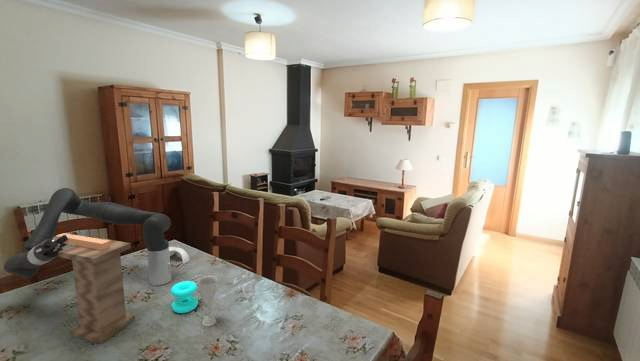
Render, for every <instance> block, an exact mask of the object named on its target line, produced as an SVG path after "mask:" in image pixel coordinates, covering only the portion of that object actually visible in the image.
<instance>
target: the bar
mask: <svg viewBox="0 0 640 361" xmlns="http://www.w3.org/2000/svg"><path fill="white" fill-rule="evenodd" d="M63 235H66V236H67V238H68V240H67V241H65V242H64V244H69V245H70V246H80V247H86V248H91V249H97V250H102V251H103V250H105V249H108V248H110V241H109V240H110V239H108V240H103V239H104V238H102V239H97V238H98V237H89V236H83V235H79V234H78V235H72V234H71V233H67V232H63V233H60V234H57V235H55V239H58V238H60V237H61V236H63ZM69 245H68V246H69Z"/></svg>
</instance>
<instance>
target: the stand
mask: <svg viewBox="0 0 640 361" xmlns="http://www.w3.org/2000/svg"><path fill="white" fill-rule="evenodd" d="M96 238H97V239H103V240H109V241H110V248H108V249H105V250H103V251H102V250H97V249H91V248H86V247H80V246H75V245H72V246H70V247H67V248H63V250H61V251H59V252H58V254H59V256H58V258H61V259H67V260H71V262H72V264H71V265H72V272H73V278H74V279H73V280H74V285H75V286H74V287H75V296H76V303H77V309H78V310H77V312H78V319H79V320H78V321H79V325H77V326H76V327H74V328H72V329H71V330H70V335H71V336H72V337H76V338H79V339H83V340H86V341H90V342H93V343H97V344H100V345H101V344H103V343H105V342H106V341H107V340H108V339H111V338H112V337H113V336H115V335H116V334H117V333H119V332H120V331H121V330H123V329H125V328H126V327H127V326H129V325H131V324H132V323H133V322H135V321H136V316H135V315H134V314H131V313H127V312H126V303H125V300H126V299H125V290H124V280H123V270H122V269H123V268H122V259H121V253H124V252H126V251H128V250H131V248H132V247H131V242H127V241H126V242H124V241H119V240H114V239H107V238H102V237H96Z"/></svg>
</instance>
